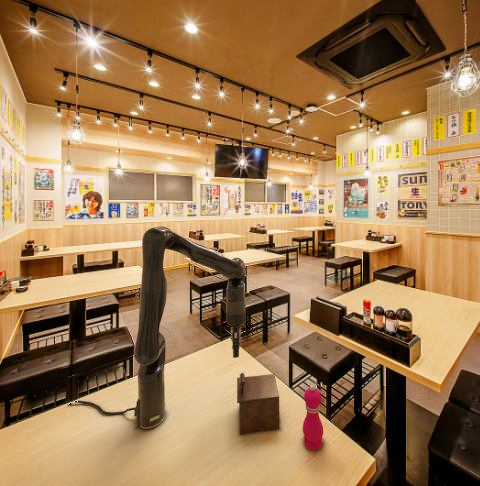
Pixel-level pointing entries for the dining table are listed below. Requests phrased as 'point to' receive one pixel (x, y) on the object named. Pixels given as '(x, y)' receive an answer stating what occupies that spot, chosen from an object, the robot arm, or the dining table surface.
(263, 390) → the lid
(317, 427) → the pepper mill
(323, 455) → the dining table surface
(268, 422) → the chest
